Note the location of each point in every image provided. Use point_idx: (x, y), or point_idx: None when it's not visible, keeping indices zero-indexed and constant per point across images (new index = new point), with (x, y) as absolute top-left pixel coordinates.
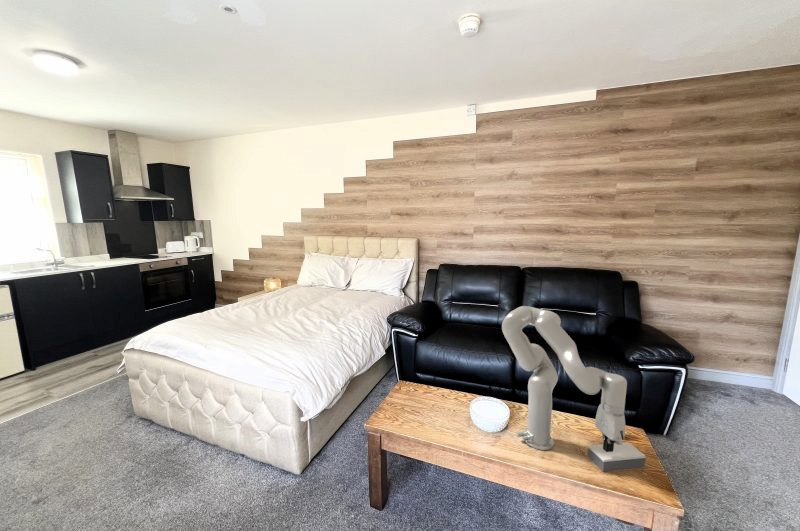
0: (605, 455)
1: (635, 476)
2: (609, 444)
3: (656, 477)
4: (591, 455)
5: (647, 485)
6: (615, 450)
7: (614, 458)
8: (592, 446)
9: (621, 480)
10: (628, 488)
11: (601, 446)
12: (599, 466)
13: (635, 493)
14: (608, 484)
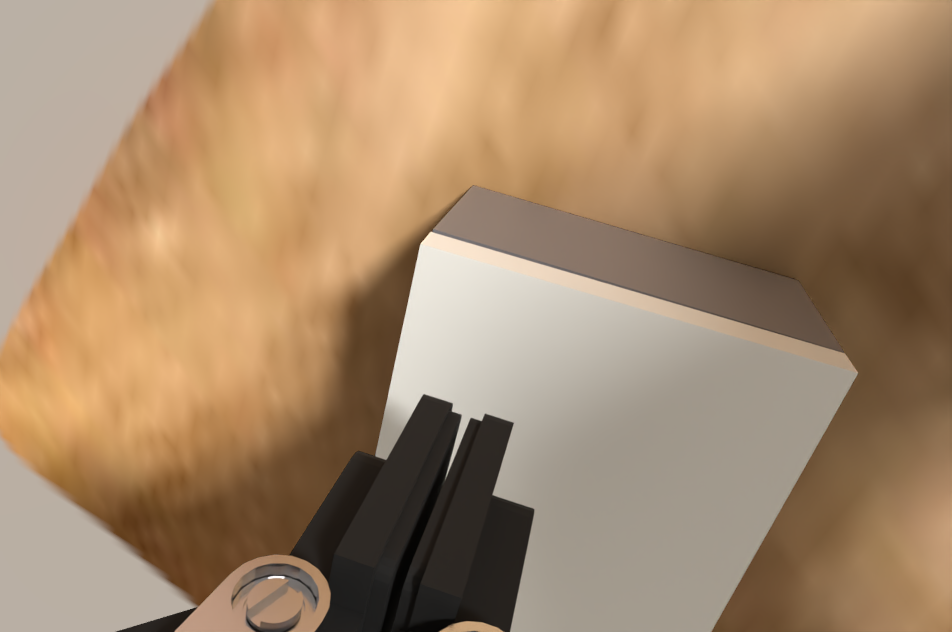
0: (499, 385)
1: (296, 463)
2: (303, 559)
3: None
4: (731, 285)
5: (172, 439)
6: (521, 625)
7: (387, 441)
8: (795, 419)
9: (287, 264)
10: (170, 212)
11: (700, 550)
12: (542, 214)
13: (98, 211)
14: (273, 21)
